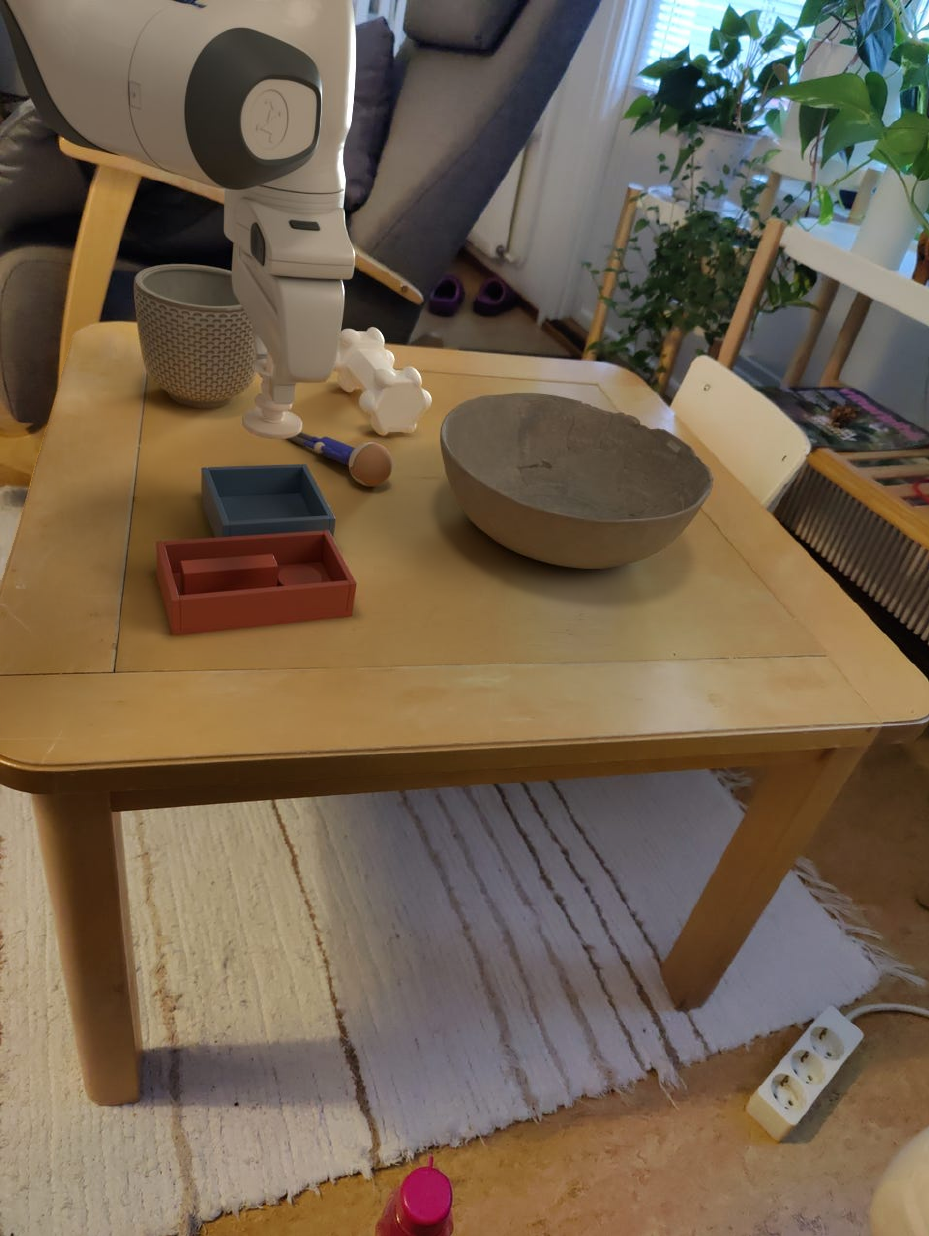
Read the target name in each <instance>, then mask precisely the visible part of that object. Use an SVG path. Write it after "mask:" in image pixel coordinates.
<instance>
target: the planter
mask: <svg viewBox="0 0 929 1236" xmlns="http://www.w3.org/2000/svg"><path fill="white" fill-rule="evenodd" d="M133 297H134V307H135V308H134V309H135V316H136V317H135V318H136V326H137V333H138V341H139V346H140V347H139V348H140V352H141V357H142V361H143V365H144V368H145V370H146V372H147V374H148V376H149V378H150V379H151V381H153V382H154V383H155V384H156V386H158V387H160V388H161V389H162V390H163V391H164V392H167V393H168V395H169V397H170V398H171V399H172V400H173V401H175V402H176V403H177V404H180V405H182V406H185V407H188V408H192V409H199V410H213V409H220V408H223V407H226V406H227V405H229V404H230V403H231V402H232V401H233V400H234V398H235V397H237V396H239V395H241V394H242V393H245V391H246V390H248V388H249V387H250V386H251V385H252V383H253V381H254V380H255V377H256V376H257V374H258V373H257V372H256V371H254V370H253V368H252V364H253V363H254V362H255V353H256V351H255V346H254V339H253V332H252V323H251V321H250V320H249V318H248V316H247V315H246V313H245V311H244V309H243V308H242V306H241V304H240V303H239V301H238V299H237V297H236V296H235V294H234V292H233V286H232V270H228V269H224V268H220V267H215V266H209V265H203V264H202V265H201V264H189V263H170V264H160V265H155V266H150V267H147V268H144V269H142V270H140V271H139V272H138V273H137V274H136V275H135V276H134V280H133Z"/></svg>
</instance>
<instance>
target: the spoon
mask: <svg viewBox="0 0 929 1236" xmlns="http://www.w3.org/2000/svg"><path fill="white" fill-rule="evenodd" d="M277 569H278V566H277V563H276V561H275V559H274V556H273V554H267V555H254V556H240V557H226V558H213V559H199V560H185V561H180V575H181V595H192V594H203V593H214V592H225V591H236V590H247V589H258V588H268V587H276V583H277V587H279V586H290V585H301V584H312V583H322V576H321V574H320V573H319V572H318V571H317V570H316V569H314V568H312V567H309V566H306V565H289V566H286V567H284V568H282V569H281V570H280V571H279V573H278V576H277Z"/></svg>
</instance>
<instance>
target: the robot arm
mask: <svg viewBox="0 0 929 1236" xmlns="http://www.w3.org/2000/svg"><path fill="white" fill-rule="evenodd" d="M194 3H195V4H196V5H194V4H190V3H183V2H179V1H176V0H0V14H1V17H2V19H3V22H4V25H5V28H6V31H7V34H8V36H9V40H10V44H11V47H12V50H13V54H14V58H15V60H16V63H17V68H18V70H19V73H20V76H21V80H22V82H23V85H24V87H25V89H26V92H27V94H28V96H29V98H30V100H31V103H32V104H33V106H34V108H35V110H36V111H37V113H38V114H39V115H40V117H41V118H42V119H43V121H44V122H45V123H46V124H47V126H49V127H50V128H51V129H52V130H53V131H54V132H55V133H56V134H57V135H58V136H60V137H61V138H62V139H64V140H65V141H67V142H69V143H71V144H72V145H74V146H78V147H81V148H84V149H88V150H92V151H97V152H102V153H105V154H109V155H114V156H118V157H124V158H127V159H130V160H132V161H135V162H138V163H140V164H143V165H146V166H149V167H151V168H154V169H157V170H160V171H163V172H165V173H168V174H170V175H171V174H172V175H177V176H180V177H182V178H186V179H188V180H191V181H195V182H197V183H200V184H203V185H206V186H208V187H211V188H212V187H213V188H217V189H224V200H223V203H224V204H223V233H224V236H225V237H226V239H228V240H229V241H231V242H232V243H233V245H232V260H231V271H232V286H233V292H234V294H235V296H236V297H237V299H238V301H239V303H240V304H241V306H242V308H243V309H244V311H245V313H246V315H247V316H248V318H249V320H250V321H251V323H252V332H253V339H254V346H255V351H256V353H255V361H257V360H260V359H266V356H267V350H268V352H269V354H270V356H271V357H272V359H273V365H274V370H273V377H270V389H269V393H270V396H271V398H272V400H273V402H274V403H275V404H291V403H292V404H293V403H294V401H295V397H296V396H295V395H296V394H295V393H296V385H297V384H301V383H302V384H321V383H326V382H327V381H328V380H329V379H330V378H331V376H332V374H333V372H334V371H333V370H334V367H335V363H336V357H337V351H338V346H339V341H340V333H341V331H342V324H343V319H344V310H345V286H344V282H343V280H351V279H353V276H354V273H355V272H354V271H355V265H356V253H355V249H354V246H353V244H352V242H351V239H350V236H349V233H348V230H347V226H346V213H345V208H344V203H345V195H346V194H345V193H346V173H345V168H344V167H345V166H344V148H345V144H346V140H347V136H348V133H349V131H350V129H351V126H352V119H353V111H354V110H353V109H354V99H355V98H354V97H355V87H356V86H355V84H356V66H357V65H356V63H357V33H356V17H355V9H354V8H355V7H354V2H353V0H195V1H194ZM258 375H259V376H260V378H262V375H261V374H259V373H258Z"/></svg>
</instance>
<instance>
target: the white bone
mask: <svg viewBox="0 0 929 1236" xmlns="http://www.w3.org/2000/svg"><path fill="white" fill-rule="evenodd" d="M394 364H395V356H394V354H393V352H392V351H390V350H389V349H386V348H385V338H384V335H383V334H382V332H381V331H380V330H379V329H378V328H377V327H374V326H371V327H369V328H367V330H366V331H361V330H359V331H356V330H355V329H352V328H345V329H341V333H340V339H339V346H338V351H337V357H336V363H335V367H334V370H333V372H336V373H337V377H336V379H337V383H338V385H339V387H340V388H341V389H342V391H344V392H346V393H352V392H354V390H360V391H361V392H362V393H361V394H360V396H359V399H358V406H359V408H360V410H361V411H362V412H363V413H365V414H369V415H370V418H369V422H370V426H371V428H372V429H373V431H374V432H375V433H376V434H378V435H379V436H383V437H384V436H387V435H388V434H389V433H400V432H401V433H406V434H409V433H413V432H414V431H415V430H416V429H417V422H419V420H420V419H421V417H422V416H423V414H424V413H425V412H426V411H427V410H429V409H430V407H431V405H432V402H433V401H432V396H431V394H430V392H429V391H427V390H426V389H424V388H423V387H422V384H423V383H422V381H423V380H422V376H421V374H420V373H419V371H418V370H417V369H416V368H415V367H413V366H412V365H411V366H410V365H407V366H404V367H403V369H394V368H393V366H394Z"/></svg>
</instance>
